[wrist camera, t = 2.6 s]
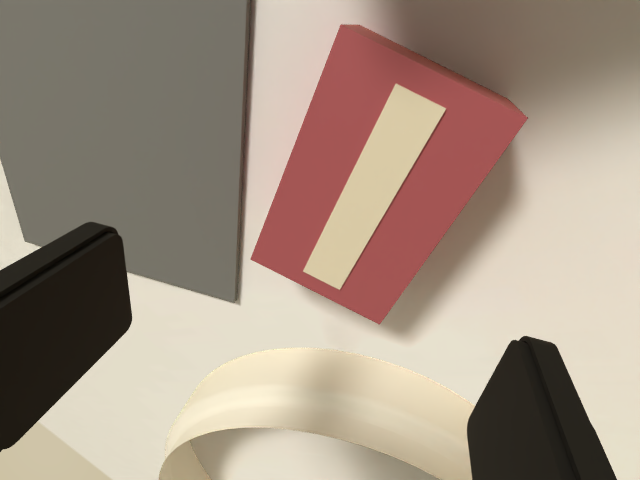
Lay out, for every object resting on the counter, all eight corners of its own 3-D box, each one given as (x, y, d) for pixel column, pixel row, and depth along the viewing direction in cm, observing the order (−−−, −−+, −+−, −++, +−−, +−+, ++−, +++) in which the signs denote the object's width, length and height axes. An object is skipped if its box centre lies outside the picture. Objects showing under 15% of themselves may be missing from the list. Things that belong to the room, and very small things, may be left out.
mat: (257, -139, 13) (252, -143, 13) (237, 299, 24) (234, 302, 23) (-89, -180, 16) (-101, -185, 15) (30, 238, 26) (24, 241, 25)
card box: (360, 24, 15) (340, 24, 12) (506, 97, 15) (528, 118, 12) (280, 221, 21) (249, 260, 17) (387, 275, 21) (379, 325, 17)
